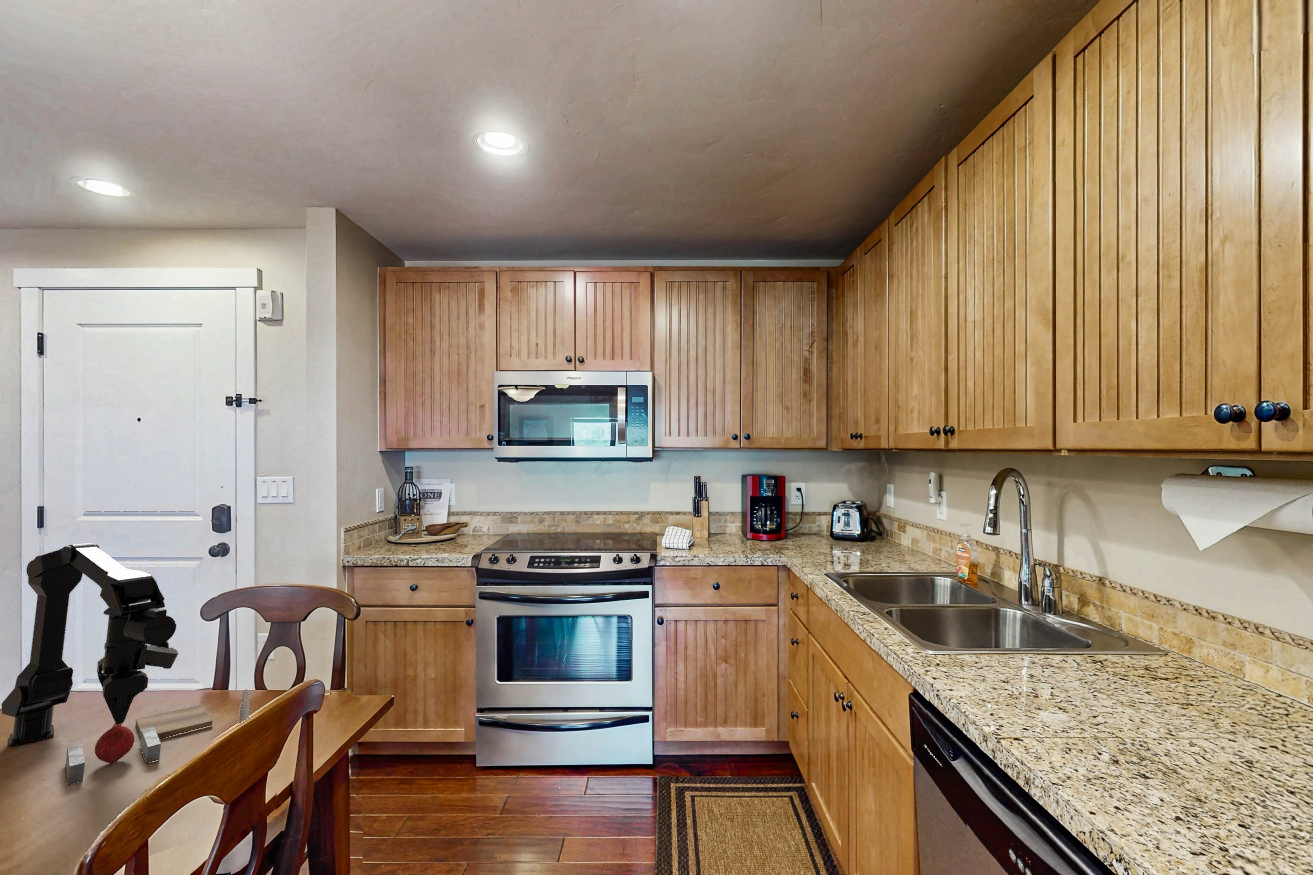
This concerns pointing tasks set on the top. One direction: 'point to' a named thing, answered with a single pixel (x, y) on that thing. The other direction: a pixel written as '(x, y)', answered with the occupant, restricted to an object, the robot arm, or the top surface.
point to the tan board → (175, 721)
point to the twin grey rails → (76, 760)
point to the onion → (114, 744)
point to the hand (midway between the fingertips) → (117, 715)
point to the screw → (244, 706)
